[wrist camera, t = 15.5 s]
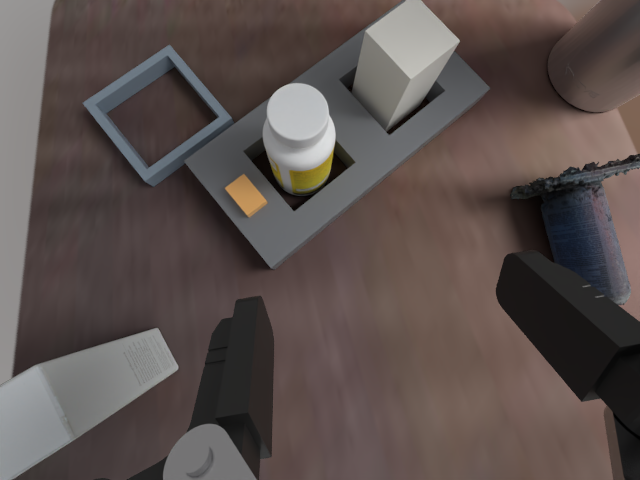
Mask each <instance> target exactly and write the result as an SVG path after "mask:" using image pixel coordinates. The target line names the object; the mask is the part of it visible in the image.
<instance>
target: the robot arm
mask: <svg viewBox="0 0 640 480" xmlns="http://www.w3.org/2000/svg"><path fill="white" fill-rule="evenodd" d="M548 73H549V77H550V80H551V82H552V84H553V86H554V88H555V90H556V91H557V92H558V93H559V94H560V96H561V97H562V98H564V99H565V100H566V101H567V102H568V103H570V104H572V105H573V106H575V107H577V108H580V109H582V110H585V111H591V112H605V111H609V110H613V109H615V108H616V107H618V106H620V105H622V104H624V103H625V102H627V101H629V100H631V99H632V98H634V97H636V96H638V95H639V94H640V0H600V1H599V2H598V3H597V4H596V5H595V6H594V7H593V8H592V9H591V10H590V11H589V12H588V13H587V14H586V15H585V16H584V17H582V19H580V20H579V21H578V22H577V23H576V24H575V25H574V26H573V27H572V28H571V29H570V30H569V31H568V32H567V33H566V34H565V35H564V36H563V37H562V38H561V39H560V40H559V41H558V42H557V43H556V44H555V45H554V47H553V48H552V50H551V52H550V55H549V59H548ZM496 296H497V299H498V302H499V304H500V305H501V307H502V308H503V309H504V311H505V312H506V313H507V314H508V315H509V316H510V318H511V319H512V320H513V321H514V322H515V324H516V325H517V326H518V327H519V328H520V329H521V331H522V332H523V333H524V334H525V335H526V337H527V338H528V339H529V340H530V341H531V342H532V344H533V345H534V346H535V347H536V348H537V350H538V351H539V352H540V353H541V354H542V355H543V357H544V358H545V359H546V360H547V361H548V363H549V364H550V365H551V366H552V367H553V368H554V370H555V371H556V372H557V373H558V374H559V376H560V377H561V378H562V379H563V380H564V381H565V383H566V384H567V385H568V386H569V387H570V389H571V390H572V391H573V392H574V393H575V394H576V396H577V397H578V398H579V399H580V400H581V402H583V401H589V400H594V399H600V398H601V399H602V400H603V401H604V403H605V404H606V405H607V406H606V407H605V409H604V419H605V426H606V433H607V440H608V446H609V453H610V460H611V467H612V473H613V480H640V322H639V321H638V320H637V319H635V318H634V317H633V316H631V315H630V314H629V313H627V312H626V311H625V310H624V309H622V308H621V307H620V306H618V305H617V304H616V303H614V302H613V301H612V300H611V299H609V298H608V297H604V294H603V293H601V292H600V291H599V290H598V289H596V288H595V287H591V285H590V283H588V282H587V281H586V280H585V279H583V278H582V277H581V276H579V275H578V274H577V273H575V272H574V271H572V270H569V269H567V268H565V267H563V266H561V265H559V264H557V263H552V262H551V261H550V260H548V259H547V258H546V257H545V256H543V255H542V254H541V253H540V252H538V251H536V250H528V251H522V252H517V253H511V254H508V255H506V257H505V258H504V262H503V265H502V269H501V272H500V276H499V280H498V283H497V287H496ZM208 351H209V352H208V353H207V357H206V361H205V367H204V370H203V374H202V378H201V382H200V386H199V390H198V395H197V399H196V403H195V407H194V411H193V415H192V420H191V423H190V426H189V428H188V430H187V432H186V434H185V435H184V436H182V437H181V438H180V439H179V441H178V442H177V443H176V444H175V445H174V447H173V448H172V450H171V452H170V454H169V455H168V456H167V457H165V458H164V459H163V460H161V461H160V462H158V463H156V464H155V465H153V466H151V467H149V468H147V469H146V470H144V471H142V472H140V473H138V474H136V475H134V476H133V477H131V478H129V479H127V480H259V468H260V459H264V458H269V457H271V456H272V412H273V369H274V337H273V331H272V327H271V323H270V320H269V317H268V314H267V311H266V308H265V305H264V302H263V299H262V297H261V296H255V297H249V298H244V299H238V300H237V301H236V303H235V309H234V314H233V317H232V318H226V319H222V320H221V321H220V323H219V324H218V326H217V327H216V329H215V330H214V332H213V333H212V336H211V340H210V345H209V349H208ZM95 480H109V479H106V478H100V479H95Z"/></svg>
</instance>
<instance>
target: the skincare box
mask: <svg viewBox="0 0 640 480" xmlns="http://www.w3.org/2000/svg"><path fill="white" fill-rule="evenodd" d="M177 370H178V365H177V363H176V361H175V359H174V357H173V356H172V354H171V352H170V350H169V348H168V346H167V344H166V343H165V341H164V339H163V337H162V335H161V333H160V331H159V329H158V328H154V329H151V330H147V331H144V332H141V333H138V334H135V335H131V336H128V337H125V338H121V339H118V340H115V341H111V342H108V343H105V344H101V345H98V346H95V347H91V348H88V349H85V350H82V351H78V352H75V353H72V354H69V355H66V356H63V357H59V358H56V359H53V360H50V361H46V362H43V363H40V364H37V365H34V366H33V367H31V368H29V369H27V370H26V371H24V372H22V373H20V374H19V375H17V376H15V377H14V378H12V379H10V380H8V381H6V382H5V383H3V384H1V385H0V480H12V479H14V478H16V477H17V476H19V475H20V474H22V473H23V472H25V471H27V470H28V469H30V468H31V467H33V466H34V465H36V464H37V463H39V462H41V461H42V460H44V459H45V458H47V457H49V456H50V455H52V454H53V453H55V452H56V451H58V450H59V449H61V448H62V447H64V446H66V445H67V444H69V443H70V442H72V441H73V440H75V439H77V438H78V437H80V436H81V435H83V434H84V433H86V432H87V431H89V430H90V429H91V428H93V427H94V426H96V425H97V424H99V423H100V422H102V421H103V420H105V419H106V418H108V417H109V416H111V415H112V414H114V413H115V412H117V411H118V410H120V409H121V408H123V407H124V406H126V405H127V404H129V403H130V402H131V401H133V400H134V399H136V398H137V397H139V396H140V395H142V394H143V393H145V392H146V391H148V390H149V389H151V388H152V387H153V386H155V385H156V384H158V383H159V382H161V381H162V380H164V379H165V378H167V377H168V376H170V375H171V374H173V373H174V372H175V371H177Z"/></svg>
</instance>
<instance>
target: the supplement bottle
mask: <svg viewBox="0 0 640 480" xmlns="http://www.w3.org/2000/svg"><path fill="white" fill-rule="evenodd" d="M335 139H336V133H335V127H334V123H333V121H332V119H331V117H330V115H329V109H328V104H327V101H326V99H325V98H324V96H323V95H322V94H321V93H320V92H319V91H318V90H317V89H315V88H314V87H312V86H310V85H307V84H302V83H292V84H288V85H285V86H283V87H281V88H279V89H278V90H277V91H276V92H275V93H274V94H273V95H272V96H271V98H270V100H269V102H268V105H267V118H266V120H265V123H264V126H263V142H264V146H265V149H266V152H267V156H268V159H269V162H270V165H271V168H272V171H273V174H274V177H275V179H276V181H277V183H278V184H279V186H280V187H281V188H282V189H283V190H285V191H286V192H288V193H290V194H292V195H296V196H308V195H311V194H314V193H316V192H317V191H319V190H320V189H321V188H322V187H323V186H324V185H325V183H326V182H327V180H328V177H329V174H330V170H331V164H332V158H333V152H334V146H335Z"/></svg>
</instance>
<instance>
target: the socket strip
mask: <svg viewBox="0 0 640 480" xmlns="http://www.w3.org/2000/svg"><path fill="white" fill-rule="evenodd" d="M459 42H460V40H459V39H458V38H457V37H456V36H455V35H454V34H453V33H452V32H451V31H450V30H449V29H448V28H447V27H446V26H445V25H444V24H443V23H442V22H441V21H440V20H439V19H438V18H437V17H436V15H435V14H434V13H433V12H432V11H431V10H430V9H429V8H428V7H427V6H426V5H425V4H424V3H423V2H422V1H421V0H403V1H401V2H400V3H399V4H397V5H396V6H394V7H393V8H392V9H390V10H389V11H388V12H386V13H385V14H384V15H382V16H381V17H379V18H378V19H377V20H375V21H374V22H373V23H371V24H370V25H369V26H367V27H366V28H364V29H363V30H362V31H360V32H359V33H358V34H356V35H355V36H354V37H352V38H351V39H349V40H348V41H347V42H345V43H344V44H343V45H341V46H340V47H338V48H337V49H336V50H334V51H333V52H332V53H330V54H329V55H328V56H326V57H325V58H323V59H322V60H321V61H319V62H318V63H317V64H315V65H314V66H313V67H311V68H310V69H308V70H307V71H306V72H304V73H303V74H302V75H300V76H299V77H298V78H296V79H295V80H293V81H292V82H291V83H289V84H292V83H302V84H307V85H310V86H312V87H314V88H315V89H317V90H318V91H319V92H320V93H321V94H322V95H323V96H324V98H325V99H326V101H327V104H328V109H329V115H330V117H331V119H332V121H333V123H334V127H335V133H336V139H335V146H334V153H335V154H336V155H337V156H338V158H339V159H340V160H341V161H342V162H343V163H344V164H345V165H346V167H347V168H348V169H347V170H346V171H344V172H343V173H342V174H341V175H339V176H338V177H337V178H336V179H334V180H333V181H332V182H331V183H329V184H328V185H327V186H326V187H324V188H323V189H322V190H321V191H319V192H318V193H317V194H316V195H314V196H313V197H312V198H311V199H309V200H308V201H307V202H306V203H304V204H303V205H302V206H301V207H299V208H298V209H297V210H296V211H293V210H292V209H291V207H290V206H289V205H288V204H287V203H286V202H285V200H284V199H283V198H282V197H281V196H280V194H279V193H278V192H277V191H276V190H275V188H274V187H273V186H272V185H271V184H270V183H269V181H268V180H267V179H266V178H265V177H264V175H263V174H262V173H261V172H260V171H259V169H258V168H257V167H256V166H255V165H254V164H253V162H252V160H253V159H254V158H256V157H257V156H258V155H260V154H261V153H262V152H264V151H265V150H266V149H265V146H264V142H263V126H264V123H265V120H266V118H267V105H268V102H269V100H270V98H271V97H270V98H269V99H268V100H266V101H265V102H263V103H262V104H261V105H259V106H258V107H257V108H255V109H254V110H253V111H251V112H250V113H248V114H247V115H246V116H244V117H243V118H242V119H240V120H239V121H238V122H236V123H235V124H233V125H232V126H231V127H229V128H228V129H227V130H225V131H224V132H222V133H221V134H220V135H218V136H217V137H216V138H214V139H213V140H212V141H210V142H209V143H207V144H206V145H205V146H203V147H202V148H201V149H199V150H198V151H197V152H195V153H194V154H192V155H191V156H190V157H188V158H187V159H186V160H184V162H185V164H186V165H187V166H188V167H189V168H190V170H191V171H192V172H193V173H194V175H195V176H196V177H197V178H198V179H199V181H200V182H201V183H202V184H203V186H204V187H205V188H206V189H207V190H208V192H209V193H210V194H211V195H212V197H213V198H214V199H215V200H216V201H217V203H218V204H219V205H220V206H221V208H222V209H223V210H224V211H225V213H226V214H227V215H228V216H229V217H230V219H231V220H232V221H233V222H234V224H235V225H236V226H237V227H238V228H239V230H240V231H241V232H242V233H243V235H244V236H245V237H246V238H247V239H248V241H249V242H250V243H251V244H252V246H253V247H254V248H255V249H256V251H257V252H258V253H259V254H260V255H261V257H262V258H263V259H264V260H265V262H266V263H267V264H268V265H269V266H270V268H272V269H274V270H275V269H276V268H277V267H278V266H280V265H281V264H282V263H283V262H284V261H286V260H287V259H288V258H289V257H291V256H292V255H293V254H294V253H295V252H297V251H298V250H299V249H300V248H301V247H303V246H304V245H305V244H306V243H308V242H309V241H310V240H311V239H312V238H314V237H315V236H316V235H317V234H318V233H320V232H321V231H322V230H323V229H325V228H326V227H327V226H328V225H329V224H331V223H332V222H333V221H334V220H336V219H337V218H338V217H339V216H340V215H342V214H343V213H344V212H345V211H346V210H348V209H349V208H350V207H351V206H353V205H354V204H355V203H356V202H357V201H359V200H360V199H361V198H362V197H363V196H365V195H366V194H367V193H368V192H370V191H371V190H372V189H373V188H374V187H376V186H377V185H378V184H379V183H381V182H382V181H383V180H384V179H385V178H387V177H388V176H389V175H390V174H391V173H393V172H394V171H395V170H396V169H398V168H399V167H400V166H401V165H402V164H404V163H405V162H406V161H407V160H408V159H410V158H411V157H412V156H413V155H415V154H416V153H417V152H418V151H419V150H421V149H422V148H423V147H424V146H426V145H427V144H428V143H429V142H430V141H432V140H433V139H434V138H435V137H436V136H438V135H439V134H440V133H441V132H443V131H444V130H445V129H446V128H447V127H449V126H450V125H451V124H452V123H454V122H455V121H456V120H457V119H458V118H460V117H461V116H462V115H463V114H464V113H466V112H467V111H468V110H469V109H471V108H472V107H473V106H474V105H475V104H476V103H477V102H478V101H479V100H480V99H481V98H482V97H483V96H484V95H485V94H486V93H487V92H488V90H489V89H490V87H489V86H488V85H487V84H486V83H485V82H484V81H483V80H482V79H481V78H480V77H479V76H478V75H477V74H476V73H475V72H474V71H473V70H472V69H471V68H470V67H469V66H468V65H467V63H466V62H465V61H464V60H463V59H462V58H461V57H460V56H459V55H458V54H457V53H456V52H455V51H454V50H455V48H456V47H457V45H458V44H459ZM353 83H354V84H353ZM352 84H353V88H352V93H351V92H350V91H349V90H348V89H347V88H348V87H349V86H351V85H352ZM425 97H426V98H427V100H428V101H429V102H430V103H429V104H428V105H427V106H425V107H424V108H423V109H422V110H420V111H419V112H418V113H417V114H415V115H414V116H413V117H412V118H410V119H409V120H408V121H407V122H405V123H404V124H403V125H402V126H400V127H399V128H398V129H397V130H395V131H394V132H393V133H392V134H390V135H389V134H388V133H387V131H388V130H390V129H391V128H392V127H393V126H395V125H396V124H397V123H398V122H400V121H401V120H402V119H403V118H405V117H406V116H407V115H408V114H410V113H411V112H412V111H413V110H415V109H416V108H417V107H418V106H420V105H421V103H422V101H423V100H424V98H425Z"/></svg>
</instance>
